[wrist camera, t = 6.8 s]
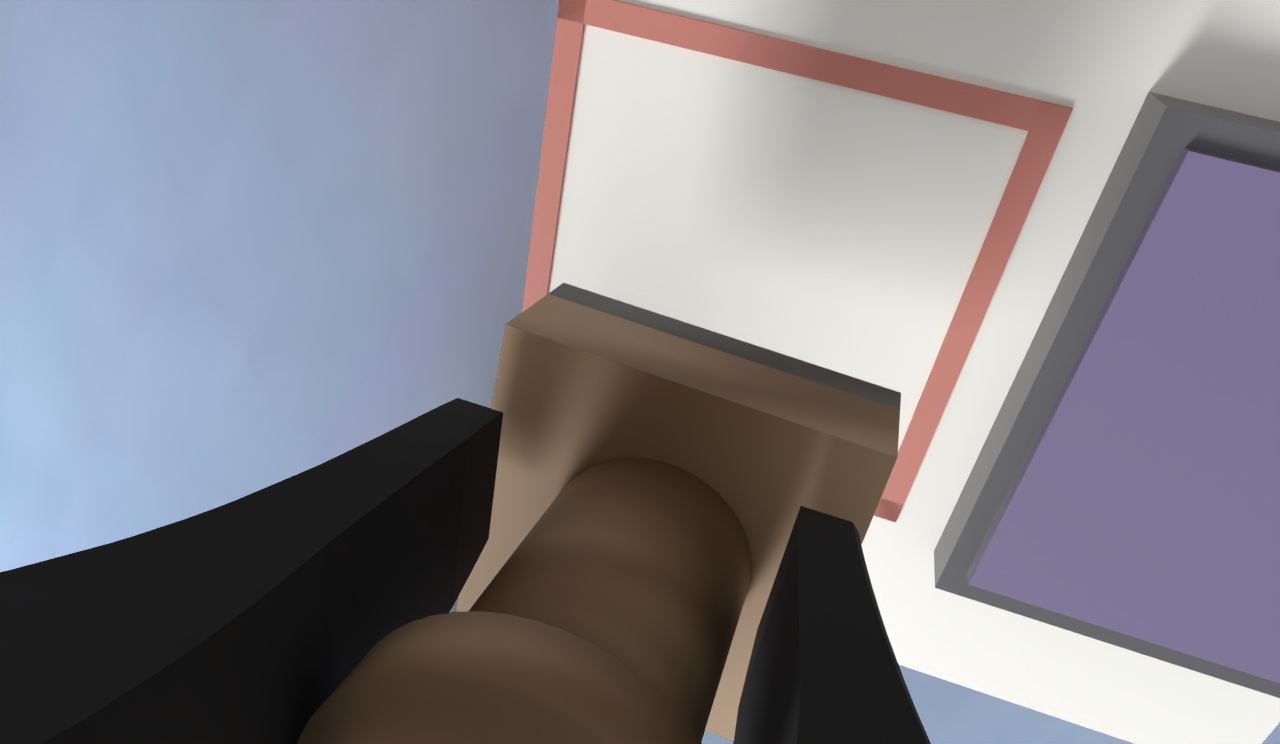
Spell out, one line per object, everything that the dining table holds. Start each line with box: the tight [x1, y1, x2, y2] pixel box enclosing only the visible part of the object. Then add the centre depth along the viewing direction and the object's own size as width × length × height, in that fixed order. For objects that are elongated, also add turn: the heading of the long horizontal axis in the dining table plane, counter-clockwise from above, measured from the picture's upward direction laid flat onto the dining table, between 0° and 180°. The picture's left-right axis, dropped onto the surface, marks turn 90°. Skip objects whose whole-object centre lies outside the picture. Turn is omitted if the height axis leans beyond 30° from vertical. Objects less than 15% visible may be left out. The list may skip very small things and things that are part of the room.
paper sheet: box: [522, 0, 1280, 744], centre depth 17 cm, size 18×17×1 cm
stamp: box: [297, 283, 901, 744], centre depth 10 cm, size 5×5×7 cm
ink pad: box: [934, 92, 1280, 698], centre depth 15 cm, size 8×10×1 cm
